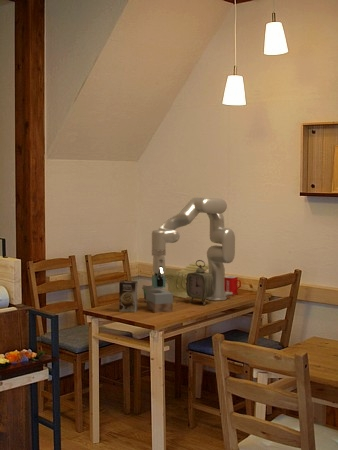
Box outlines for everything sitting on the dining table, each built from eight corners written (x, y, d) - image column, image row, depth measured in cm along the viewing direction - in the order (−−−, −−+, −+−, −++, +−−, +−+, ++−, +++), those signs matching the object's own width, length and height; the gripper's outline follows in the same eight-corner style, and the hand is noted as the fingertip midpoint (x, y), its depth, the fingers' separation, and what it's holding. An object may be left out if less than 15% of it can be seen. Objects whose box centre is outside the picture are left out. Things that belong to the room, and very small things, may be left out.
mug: (220, 294, 406) (220, 277, 405) (227, 292, 413) (227, 275, 412) (237, 296, 399) (237, 279, 398) (244, 294, 406) (244, 277, 405)
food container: (145, 304, 377) (145, 286, 376) (142, 302, 382) (142, 285, 381) (166, 302, 381) (165, 285, 380) (162, 300, 387) (162, 283, 386)
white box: (162, 297, 372) (162, 288, 372) (172, 302, 357) (172, 293, 357) (145, 298, 369) (145, 289, 368) (155, 304, 354) (155, 295, 353)
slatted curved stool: (190, 289, 421) (190, 262, 420) (209, 292, 410) (209, 264, 409) (157, 296, 400) (157, 267, 398) (176, 299, 389) (176, 269, 387)
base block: (163, 306, 372) (163, 297, 372) (172, 312, 357) (172, 303, 357) (146, 307, 369) (146, 298, 369) (154, 313, 354) (154, 304, 354)
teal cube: (162, 285, 365) (162, 274, 365) (165, 287, 360) (165, 276, 359) (151, 286, 364) (151, 275, 363) (154, 287, 358) (154, 276, 358)
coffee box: (118, 312, 356) (118, 282, 355) (121, 309, 362) (121, 280, 361) (135, 312, 355) (135, 282, 353) (137, 310, 361) (137, 280, 360)
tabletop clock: (186, 302, 380) (186, 259, 378) (196, 300, 387) (196, 258, 385) (204, 306, 370) (205, 262, 368) (215, 304, 377) (215, 260, 375)
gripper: (169, 254, 353) (169, 287, 354) (161, 250, 370) (161, 282, 371) (155, 254, 351) (155, 288, 353) (148, 251, 368) (148, 283, 369)
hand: (158, 285), depth 362 cm, fingers closed on teal cube, 6 cm apart
